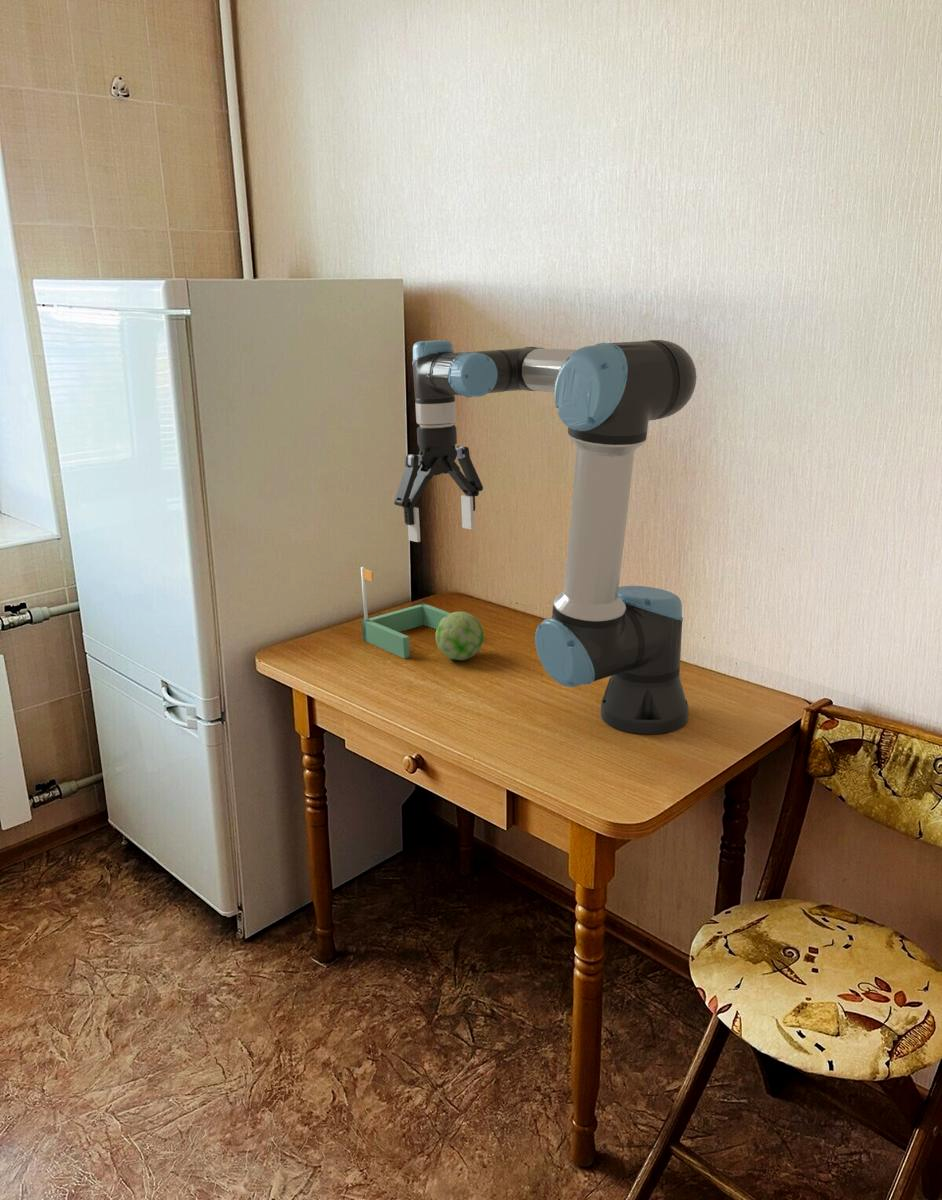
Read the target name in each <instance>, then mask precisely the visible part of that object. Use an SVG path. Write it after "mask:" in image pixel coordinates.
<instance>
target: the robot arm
mask: <svg viewBox="0 0 942 1200" xmlns="http://www.w3.org/2000/svg"><path fill="white" fill-rule="evenodd" d="M411 366H412V373H413V374H412V375H413V388H414V398H415V399H414V400H415V401H414V402H415V403H414V404H415V420H416V424H417V425H419V426H417V428H416V437H417V438H416V440H417V441H416V442H417V446H418V447H419V448H418V449H419V453H418V454H409V453H408V454H406V455H405V464H404V465H405V467H404V469H403V473H402V476H401V478H400V479H401V480H400V483H399V485H398V489H397V493H396V495H395V498H394V503H393V504H394V505H395V506H399V507H402V508H403V515H404V523H405V525H407V534H408V541H411V542H415V543H420V542H421V527H420V511H419V510H420V509H419V507H417V503H418V501H419V499H420V498H421V496H422V494H423V493H424V491H425V488H426V487H427V484H428V483H429V481H430V480H432V478H433V477H434V476H439V475H441V474H445V475H447V474H448V475H449V476H450V477H451V479H452V480H453V481H454V482H455V484H456V485H457V486H458V487H459V489H460V490H461V491H462V492H463V495H461V496H460V502H461V503H460V505H461V525H462V528H463V529H466V530H475V521H474V520H475V519H474V517H475V516H474V512H475V511H476V497H478V496H479V494H480V492H483V489H484V487H483V484H482V482H481V479H480V477H479V475H478V472H477V470H476V467H475V466H474V464H473V461H472V459H471V455H470V450H469V449H470V448H469V447H468V446H461V445H457V444H458V437H457V435H458V434H457V426H456V425H455V423H456V422H457V413H456V412H457V411H456V396H461V397H465V398H472V397H473V398H475V397H476V398H478V397H484V396H487V395H488V394H495V393H503V392H511V391H512V392H513V391H526V392H527V391H528V392H544V393H554V394H553V395H554V396H553V397H554V398H553V399H554V405H555V406H554V407H555V408H557V409H558V411H557V415H558V418H559V419H560V420H561V422H562V423H563V425H565V426H567V436H568V438H569V439H570V440H571V441H572V442H573V443H574V445H575V446H576V450H575V451H576V452H575V462H574V463H575V464H574V472H573V483H572V484H573V485H572V495H571V496H572V497H571V506H570V519H569V528H568V540H567V551H566V552H567V553H566V563H565V572H564V573H565V575H564V585H563V587H564V588H563V590H562V591H560V593H558V594H557V595H556V596H555V597H554V598H553V600H552V601H553V603H552V604H553V605H552V614H551V618H545V619H544V620H543V621H541V623H540V624H539V625H538V626H537V628H536V630H535V633H534V634H535V635H534V637H535V638H534V641H535V642H534V643H535V649H536V653H537V657H538V659H539V661H540V663H541V665H542V666H543V668H544V670H545V672H546V673H547V674H548V675H549V677H550V678H551V679H553V680H554V681H555V682H557V683H558V684H559V685H561V686H563V687H568V688H576V687H579V686H583V685H586V686H588V685H591V684H592V683H593V682H596V681H600V680H603V679H605V678H606V679H607V678H609V680H608V682H607V686H606V687H605V691H604V695H603V697H602V699H601V703H600V716H601V718H602V721H604V723H606V724H607V725H608V726H610V727H612V728H614V729H616V730H619V731H623V732H627V733H631V734H637V735H638V734H639V735H658V734H659V735H660V734H666V733H671V732H674V731H677V730H679V729H681V728H683V727H684V726H686V724H687V723H688V720H689V702H688V701H687V699H686V697H685V692H684V689H683V685H682V684H683V683H682V681H681V677H680V674H681V673H680V670H681V652H682V634H683V621H684V617H683V604H682V600H681V598H680V597H679V596H678V595H676V593H673V592H671V591H668V590H665V589H661V588H658V587H657V588H656V587H651V586H644V585H622V586H620V579H621V573H622V571H621V569H622V563H623V553H624V546H625V545H624V544H625V535H626V527H627V517H628V510H629V501H630V493H631V486H632V485H631V483H632V475H633V466H634V459H635V458H634V457H635V452H636V450H637V449H638V448H640V447H641V446H642V445H644V444H645V443H646V441H647V437H648V436H647V435H648V428H649V422H650V421H656V420H662V419H665V418H668V417H671V416H673V415H675V414H676V413H678V412H680V411H681V410H682V409H683V408H685V406H686V405H687V404H688V402H689V401H690V400H691V399H692V396H693V394H694V392H695V388H696V385H697V377H698V375H697V369H696V366H695V363H694V360H693V358H692V356H690V354H689V352H687V351H686V349H685V348H683V347H682V346H681V345H679V344H677V343H676V342H672V341H669V340H664V339H663V340H662V339H650V340H642V341H641V340H639V341H637V340H636V341H625V342H624V341H621V342H599V343H596V344H594V345H586V346H583V347H580V348H578V349H572V348H571V349H569V348H568V349H567V348H566V349H565V348H545V347H537V346H525V347H520V348H519V347H517V348H510V349H509V348H508V349H493V350H480V351H479V350H478V351H464V352H463V351H460V352H455V351H454V347H453V343H452V342H451V340H447V339H446V340H445V339H444V340H443V339H442V340H441V339H440V340H439V339H437V340H421V341H416V342H415V343H414V344H413V346H412V362H411ZM456 445H457V446H456ZM456 459H457V461H458V464H459V465H458V464H457V462H456Z"/></svg>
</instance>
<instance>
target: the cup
mask: <svg viewBox="0 0 942 1200" xmlns="http://www.w3.org/2000/svg"><path fill="white" fill-rule="evenodd" d="M373 573H374V572H373V571H372V570H370V569H366V568H365V566H361V567H360V574H361V575H360V576H361V589H362V602H363V603H362V605H363V619H362V620H361V635H362V640H363V641H365V642H366V643H369V644H370V645H373V646H376V647H378V648H380V649H381V650H384V651H386V652H388V653H390V654H393V655H396V656H397V657H400V658H402V659H404V660H405V659H409V658H411V652H410V651H411V650H410V649H411V648H410V636H408V635H406V634H403V633H402V632H404V631H408V630H410V629H411V630H412V629H414V628H419V627H422V626H425V627H427V626H428V627H427V628H430V627H431V628H430V629H432V628H434V629H433V630H435V629H436V630H437V627H438V625H439V623H440V621H441V620H442V619H443V618H444V617H446V616H447V615H449V614H450V613H451V612H448V611H447V610H443V609H441V608H438V607H435V606H433V605H429V604H427V603H420V604H416V605H413V606H410V607H405V608H402V609H401V608H400V609H397V610H395V611H391V612H387V613H384V614H380V615H377V616H373V617H370V618H369V616H368V615H369V614H368V613H369V611H368V599H367V598H368V597H367V585H366V581H369V582H371V583H373V582H374V574H373ZM436 630H435V631H436Z"/></svg>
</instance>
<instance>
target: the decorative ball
mask: <svg viewBox="0 0 942 1200" xmlns="http://www.w3.org/2000/svg"><path fill="white" fill-rule="evenodd" d="M449 613H450V614H449V615H447V616H446V617H444V618H443V619H442V620H441V621H440V623H439V625H438V627H437V630H435V635H434V636H435V643H436V645H437V648H438V650H439V651H440V652H441V653H443V655H444V656H446V658H449V659H450V660H457V661H466V660H468V659H470V658H472V657H474V656H475V655H476V654H477V653H478V652H479V651H480V650H481V647H482V644H483V643H484V630H483V626H482V623H481V621H479V620H478V618H477V617H475V615H473V614H471V613H468V612H465V611H454V612H449Z"/></svg>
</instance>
